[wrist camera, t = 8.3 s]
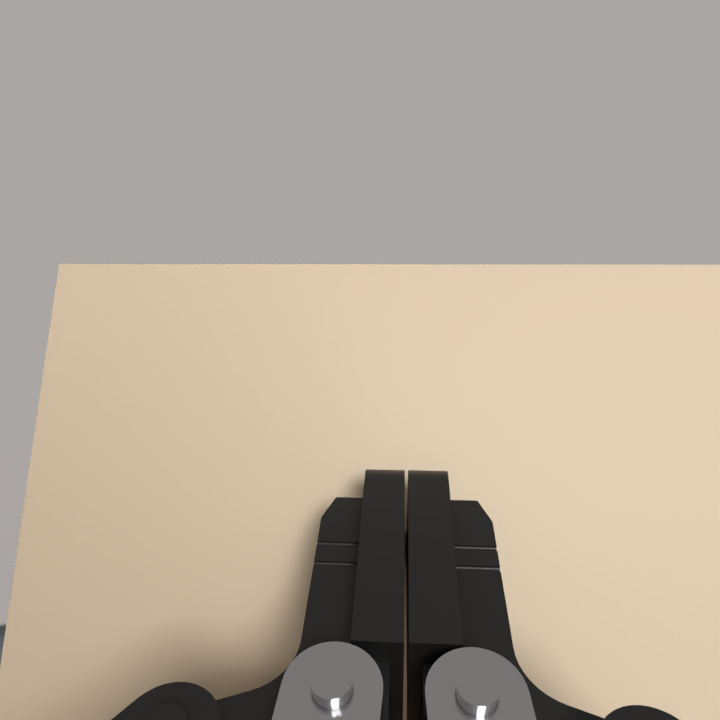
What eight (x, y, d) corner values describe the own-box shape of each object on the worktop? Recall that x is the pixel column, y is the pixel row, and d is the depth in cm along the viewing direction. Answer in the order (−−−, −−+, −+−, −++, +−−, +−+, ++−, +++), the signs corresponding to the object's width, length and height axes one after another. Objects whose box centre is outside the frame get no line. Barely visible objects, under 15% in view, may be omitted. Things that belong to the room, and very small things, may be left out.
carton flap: (59, 263, 14) (70, 272, 14) (-46, 980, 11) (-27, 960, 11) (771, 264, 13) (757, 274, 13) (880, 1047, 10) (857, 1022, 10)
